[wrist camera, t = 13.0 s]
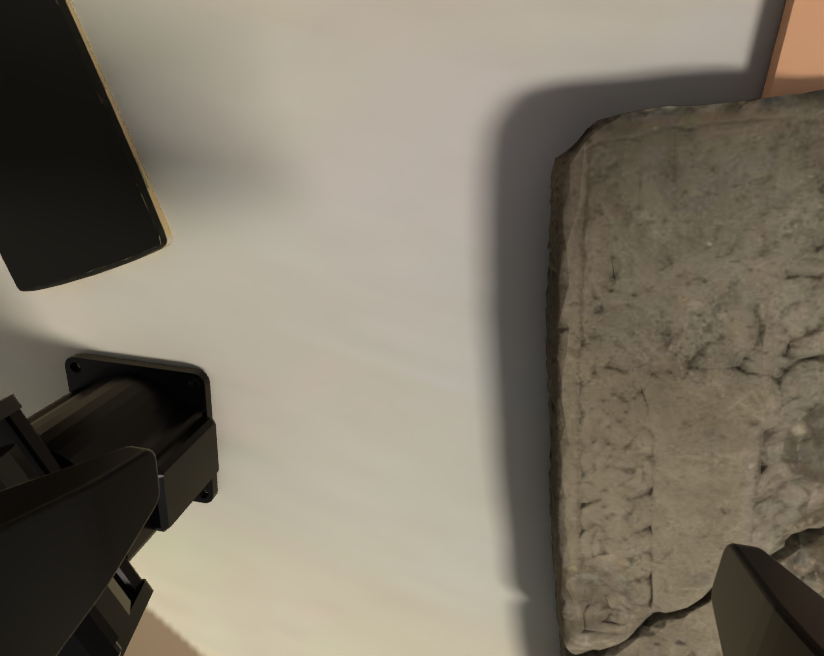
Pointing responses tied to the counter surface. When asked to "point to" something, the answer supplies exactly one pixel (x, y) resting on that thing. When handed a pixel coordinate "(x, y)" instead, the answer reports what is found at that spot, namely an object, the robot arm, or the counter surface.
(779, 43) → the tile
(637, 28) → the counter surface
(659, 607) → the stone slab
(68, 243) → the smartphone
